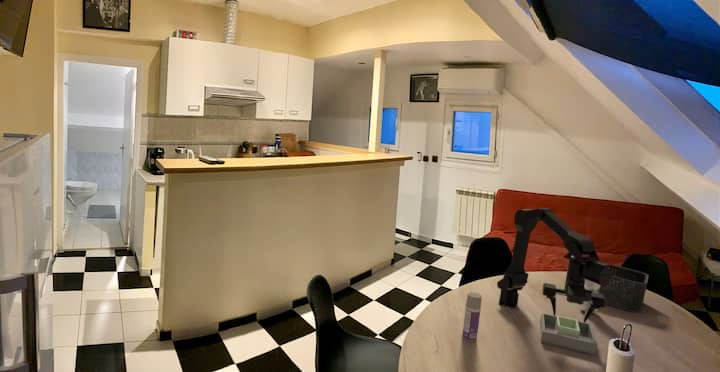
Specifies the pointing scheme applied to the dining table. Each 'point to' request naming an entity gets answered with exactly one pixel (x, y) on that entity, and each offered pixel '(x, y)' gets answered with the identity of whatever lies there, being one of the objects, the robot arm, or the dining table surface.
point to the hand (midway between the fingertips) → (569, 318)
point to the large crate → (582, 344)
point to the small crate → (567, 327)
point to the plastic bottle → (593, 288)
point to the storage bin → (625, 289)
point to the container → (472, 317)
